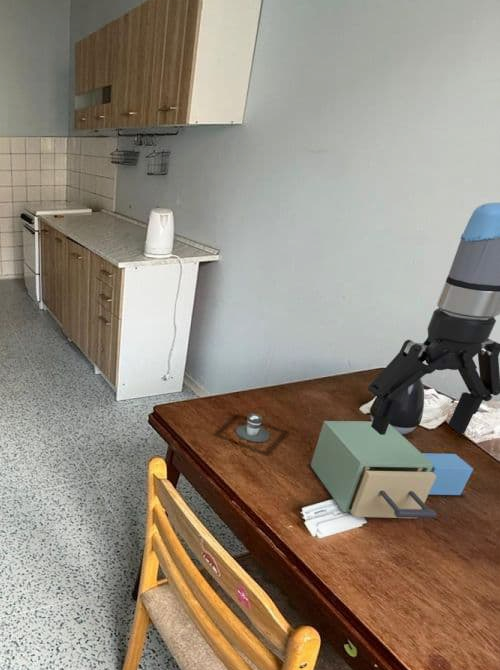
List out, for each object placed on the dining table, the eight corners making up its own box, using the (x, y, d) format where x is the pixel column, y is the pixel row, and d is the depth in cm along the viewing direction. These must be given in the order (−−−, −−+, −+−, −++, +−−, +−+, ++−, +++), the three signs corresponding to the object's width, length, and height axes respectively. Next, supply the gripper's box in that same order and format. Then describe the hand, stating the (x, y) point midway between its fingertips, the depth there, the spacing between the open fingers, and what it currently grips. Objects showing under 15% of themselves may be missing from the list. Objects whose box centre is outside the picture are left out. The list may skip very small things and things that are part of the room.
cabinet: (411, 513, 89) (434, 464, 84) (343, 512, 90) (360, 463, 85) (370, 467, 102) (387, 421, 97) (310, 465, 103) (323, 420, 97)
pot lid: (285, 432, 115) (290, 415, 112) (266, 453, 107) (270, 435, 105) (238, 415, 122) (241, 399, 120) (216, 434, 115) (219, 417, 112)
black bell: (410, 422, 117) (432, 367, 110) (418, 444, 109) (443, 386, 102) (362, 414, 121) (381, 361, 114) (367, 435, 113) (387, 378, 106)
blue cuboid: (443, 479, 98) (455, 453, 95) (460, 495, 94) (473, 468, 91) (408, 478, 98) (419, 453, 95) (423, 494, 94) (435, 468, 91)
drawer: (440, 543, 82) (462, 499, 77) (371, 541, 82) (389, 498, 78) (377, 473, 99) (392, 433, 94) (321, 472, 100) (333, 433, 95)
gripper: (525, 303, 75) (471, 417, 85) (368, 306, 75) (333, 419, 85) (571, 319, 68) (507, 440, 78) (400, 322, 69) (357, 443, 78)
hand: (416, 429), depth 82 cm, fingers open, 13 cm apart
